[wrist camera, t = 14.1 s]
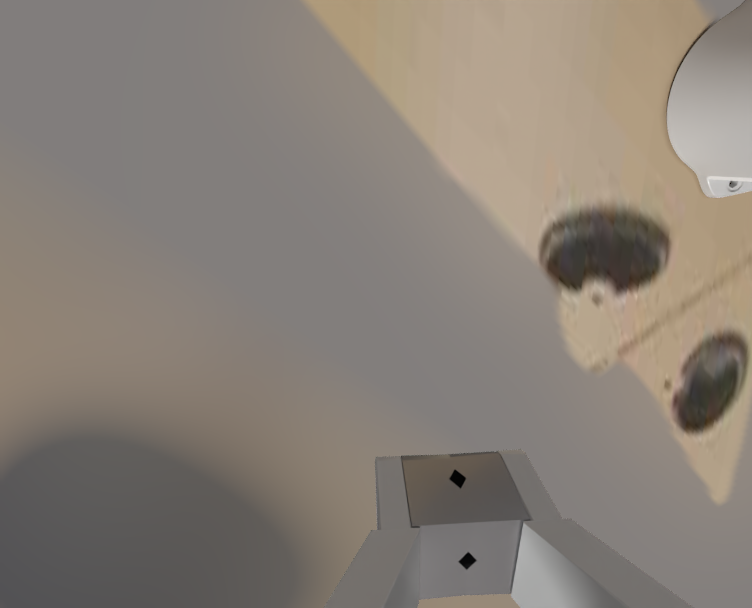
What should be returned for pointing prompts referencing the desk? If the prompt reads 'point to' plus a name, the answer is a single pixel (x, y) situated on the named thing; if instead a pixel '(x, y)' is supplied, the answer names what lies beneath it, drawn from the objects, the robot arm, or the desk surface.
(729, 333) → the desk surface
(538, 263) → the desk surface
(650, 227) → the desk surface
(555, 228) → the desk surface
